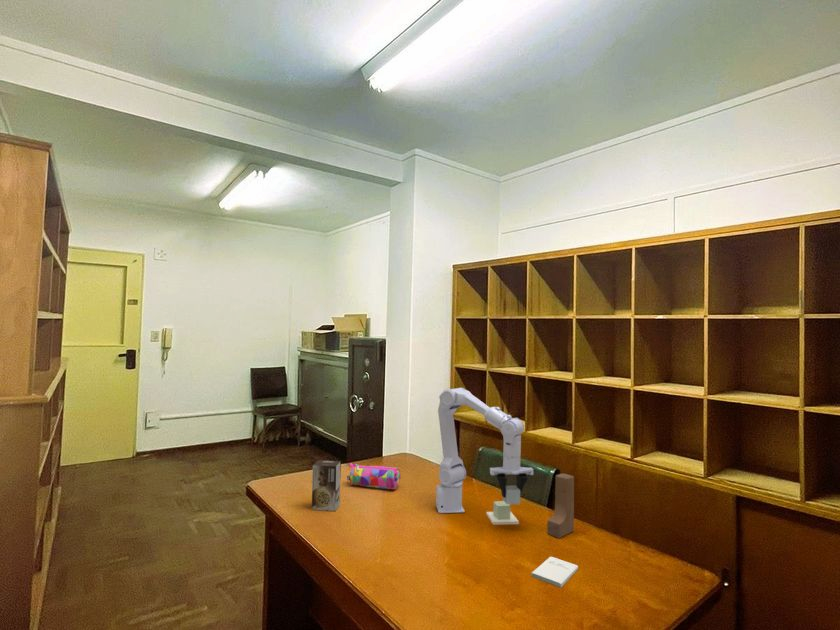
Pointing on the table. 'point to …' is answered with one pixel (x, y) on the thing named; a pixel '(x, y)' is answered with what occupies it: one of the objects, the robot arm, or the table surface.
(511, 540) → the table surface
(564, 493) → the wooden block
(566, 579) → the external hard drive
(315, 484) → the coffee box
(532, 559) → the table surface
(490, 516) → the base tile
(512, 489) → the slate cube
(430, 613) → the table surface
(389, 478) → the pencil case
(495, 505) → the sage cube
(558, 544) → the table surface
